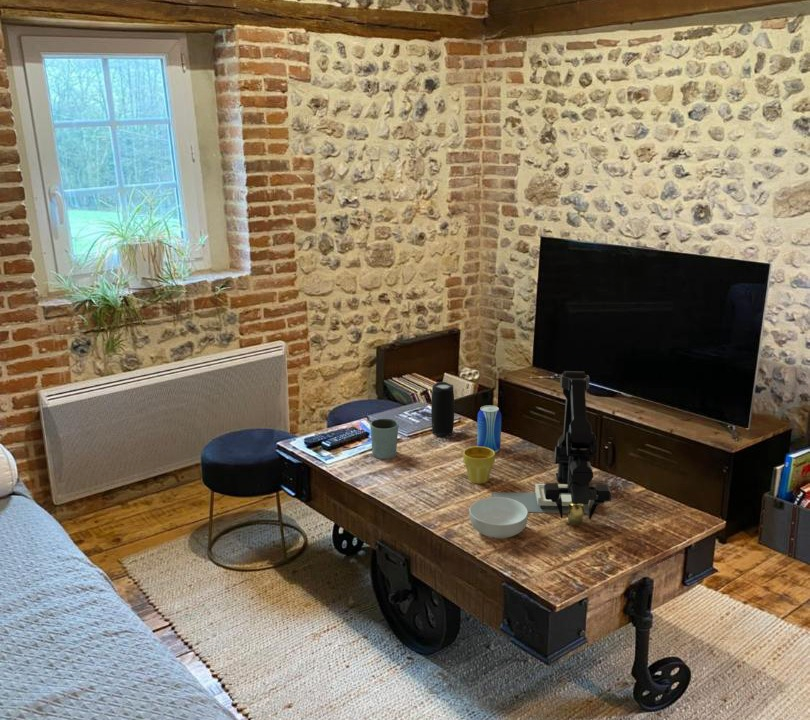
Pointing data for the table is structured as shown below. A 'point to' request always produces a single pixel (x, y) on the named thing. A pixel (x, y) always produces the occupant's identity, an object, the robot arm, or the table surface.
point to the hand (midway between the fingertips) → (575, 518)
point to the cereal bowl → (498, 517)
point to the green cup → (384, 437)
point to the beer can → (489, 428)
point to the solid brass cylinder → (575, 514)
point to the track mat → (533, 502)
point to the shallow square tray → (542, 501)
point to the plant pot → (478, 463)
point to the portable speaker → (442, 409)
